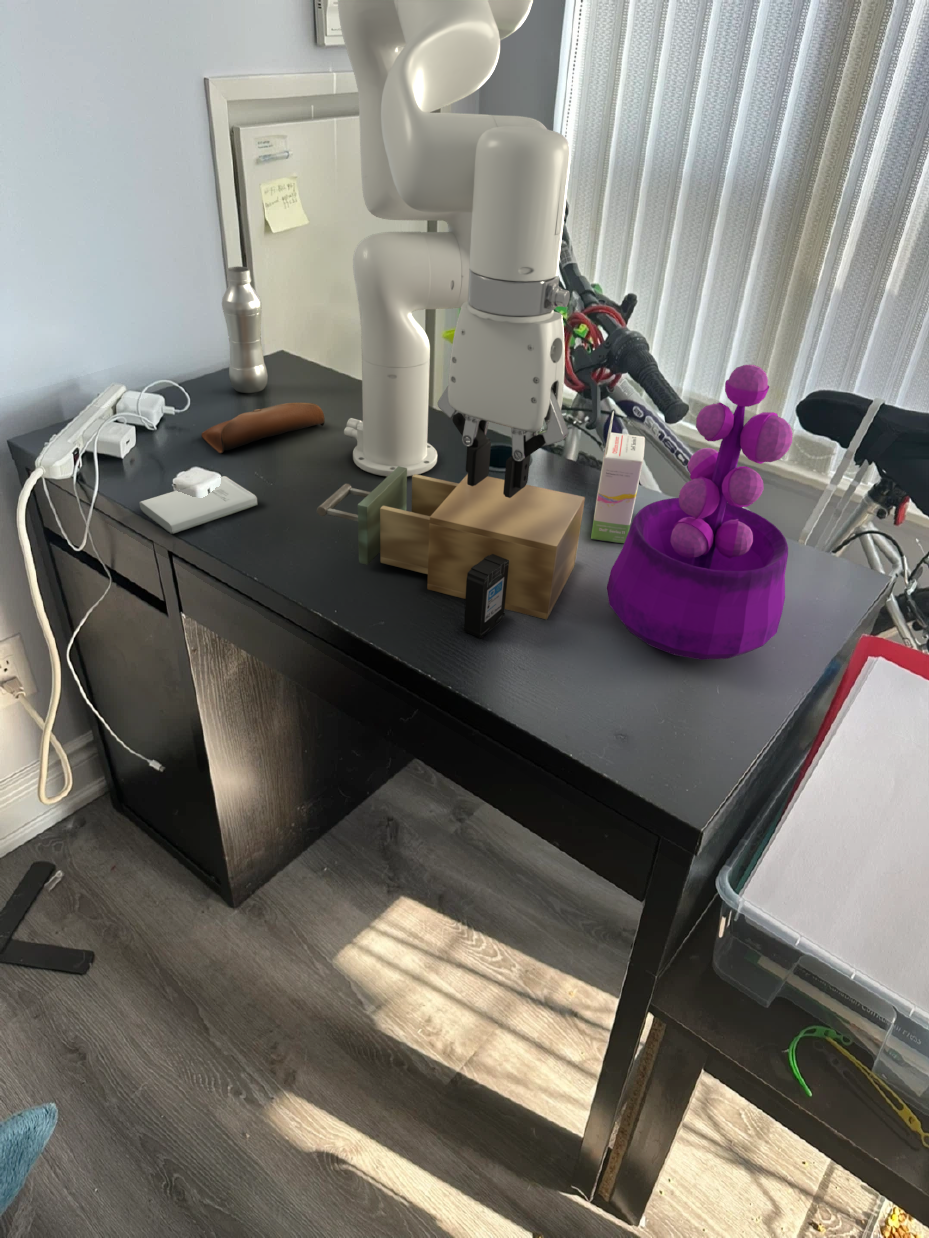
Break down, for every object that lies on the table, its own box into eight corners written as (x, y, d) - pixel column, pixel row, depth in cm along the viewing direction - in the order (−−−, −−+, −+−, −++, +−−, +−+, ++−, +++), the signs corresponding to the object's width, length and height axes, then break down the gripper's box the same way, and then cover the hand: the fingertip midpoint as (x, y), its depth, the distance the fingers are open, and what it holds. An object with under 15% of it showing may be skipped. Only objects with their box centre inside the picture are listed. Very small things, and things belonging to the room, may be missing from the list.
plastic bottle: (224, 395, 143) (210, 272, 132) (239, 382, 149) (227, 262, 137) (260, 399, 143) (249, 276, 131) (274, 386, 148) (265, 266, 137)
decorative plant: (766, 598, 100) (845, 348, 83) (777, 696, 85) (876, 416, 68) (608, 572, 103) (653, 325, 86) (593, 662, 88) (643, 386, 71)
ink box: (628, 545, 109) (648, 439, 100) (589, 540, 110) (607, 433, 101) (630, 515, 116) (650, 413, 107) (594, 510, 116) (611, 408, 108)
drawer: (309, 550, 102) (305, 492, 97) (351, 510, 111) (350, 455, 106) (464, 589, 97) (468, 530, 92) (495, 544, 106) (500, 488, 101)
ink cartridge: (480, 640, 90) (485, 578, 86) (462, 632, 91) (466, 570, 87) (504, 619, 94) (510, 558, 89) (487, 612, 95) (492, 551, 90)
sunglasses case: (296, 409, 139) (306, 381, 133) (318, 441, 137) (328, 414, 132) (196, 434, 129) (202, 405, 123) (219, 470, 127) (226, 442, 122)
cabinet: (427, 589, 98) (429, 517, 92) (464, 540, 108) (468, 472, 102) (546, 620, 94) (556, 546, 89) (574, 566, 104) (585, 496, 98)
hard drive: (140, 511, 109) (224, 484, 117) (172, 536, 105) (257, 506, 112) (138, 500, 108) (223, 474, 116) (170, 524, 104) (256, 495, 111)
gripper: (617, 302, 72) (587, 495, 82) (452, 269, 78) (444, 452, 89) (581, 322, 66) (554, 526, 77) (407, 285, 73) (404, 478, 83)
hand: (495, 484), depth 83 cm, fingers open, 3 cm apart
